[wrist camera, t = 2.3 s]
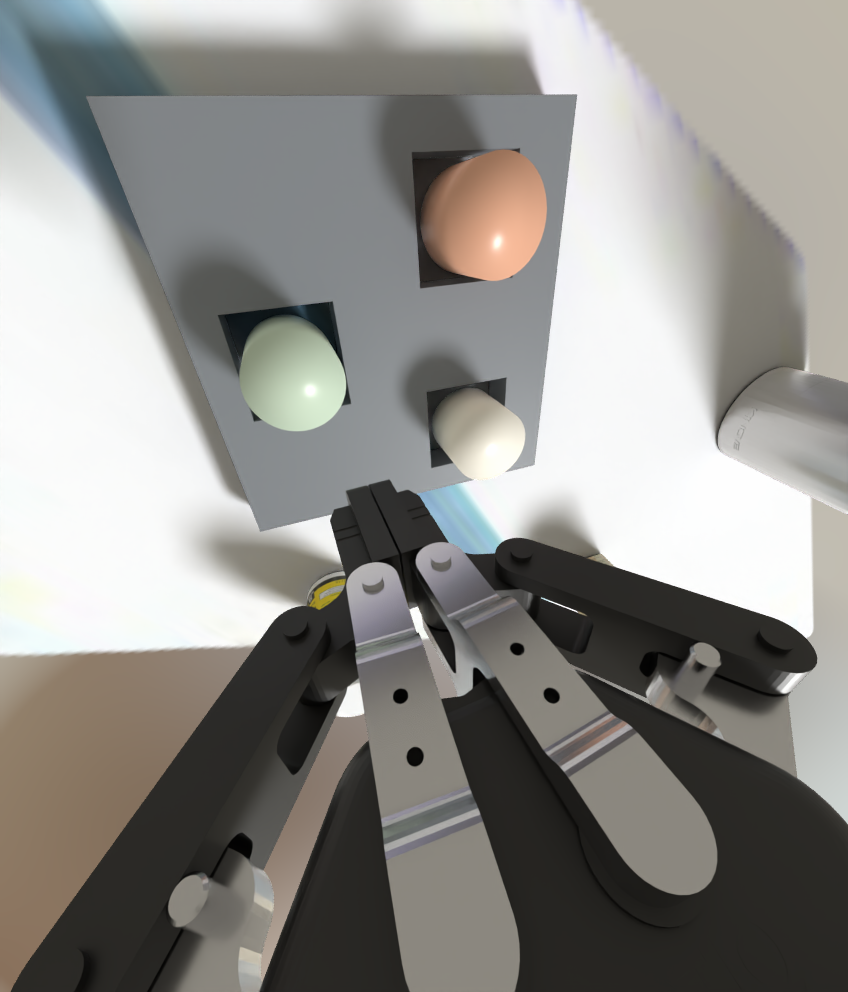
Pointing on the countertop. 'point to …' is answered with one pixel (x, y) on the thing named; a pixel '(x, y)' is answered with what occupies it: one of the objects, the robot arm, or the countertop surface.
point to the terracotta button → (485, 215)
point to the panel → (339, 268)
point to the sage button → (291, 374)
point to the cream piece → (478, 433)
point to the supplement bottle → (318, 598)
